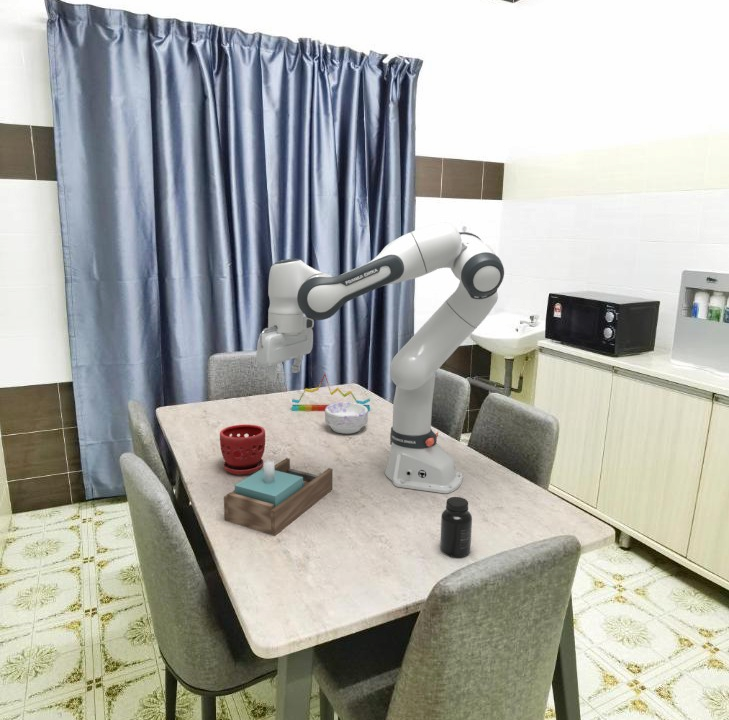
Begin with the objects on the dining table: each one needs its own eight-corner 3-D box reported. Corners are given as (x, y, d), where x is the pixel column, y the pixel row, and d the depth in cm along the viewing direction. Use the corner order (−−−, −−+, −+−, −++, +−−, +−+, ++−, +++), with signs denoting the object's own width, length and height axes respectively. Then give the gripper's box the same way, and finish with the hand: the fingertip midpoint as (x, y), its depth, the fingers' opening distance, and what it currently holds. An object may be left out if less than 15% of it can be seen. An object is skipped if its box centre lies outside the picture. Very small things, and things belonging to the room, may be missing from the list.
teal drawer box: (303, 501, 145) (303, 458, 143) (276, 523, 135) (275, 476, 132) (265, 491, 151) (264, 449, 148) (235, 511, 140) (233, 466, 137)
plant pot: (274, 468, 168) (274, 430, 165) (236, 482, 159) (234, 442, 156) (250, 455, 177) (249, 419, 174) (212, 467, 168) (210, 429, 166)
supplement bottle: (466, 541, 132) (470, 494, 129) (473, 558, 125) (476, 509, 122) (437, 541, 131) (440, 494, 129) (442, 558, 125) (445, 508, 122)
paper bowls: (352, 440, 192) (353, 418, 190) (316, 431, 199) (316, 409, 198) (375, 427, 204) (376, 406, 203) (340, 419, 212) (340, 399, 210)
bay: (332, 489, 156) (332, 465, 154) (275, 535, 132) (274, 507, 131) (286, 478, 162) (286, 454, 161) (224, 520, 139) (223, 493, 137)
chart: (369, 409, 226) (370, 372, 222) (369, 411, 223) (370, 374, 219) (292, 409, 224) (292, 372, 220) (292, 411, 221) (291, 374, 217)
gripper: (271, 331, 133) (271, 387, 136) (317, 319, 151) (316, 370, 154) (249, 327, 136) (250, 383, 139) (297, 317, 153) (296, 366, 157)
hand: (285, 376), depth 146 cm, fingers open, 8 cm apart
